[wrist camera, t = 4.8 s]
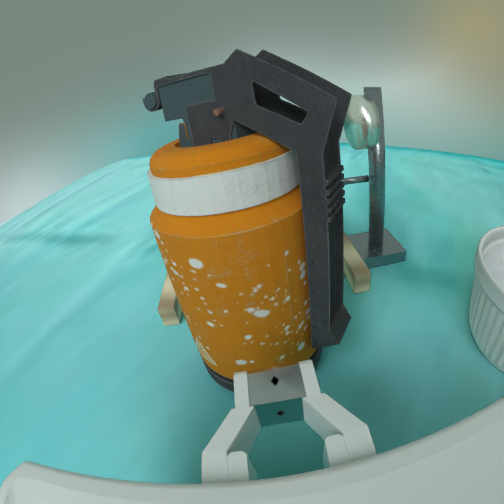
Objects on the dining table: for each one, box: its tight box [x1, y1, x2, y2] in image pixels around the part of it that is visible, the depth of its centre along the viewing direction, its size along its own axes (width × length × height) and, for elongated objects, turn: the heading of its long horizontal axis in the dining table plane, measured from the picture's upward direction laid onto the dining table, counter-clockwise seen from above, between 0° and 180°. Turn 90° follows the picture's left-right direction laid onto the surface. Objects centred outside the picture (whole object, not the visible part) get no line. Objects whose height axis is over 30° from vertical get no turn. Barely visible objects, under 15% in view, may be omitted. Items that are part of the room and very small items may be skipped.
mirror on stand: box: [343, 87, 406, 268], centre depth 27 cm, size 6×5×17 cm
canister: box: [143, 49, 352, 392], centre depth 17 cm, size 9×11×20 cm
